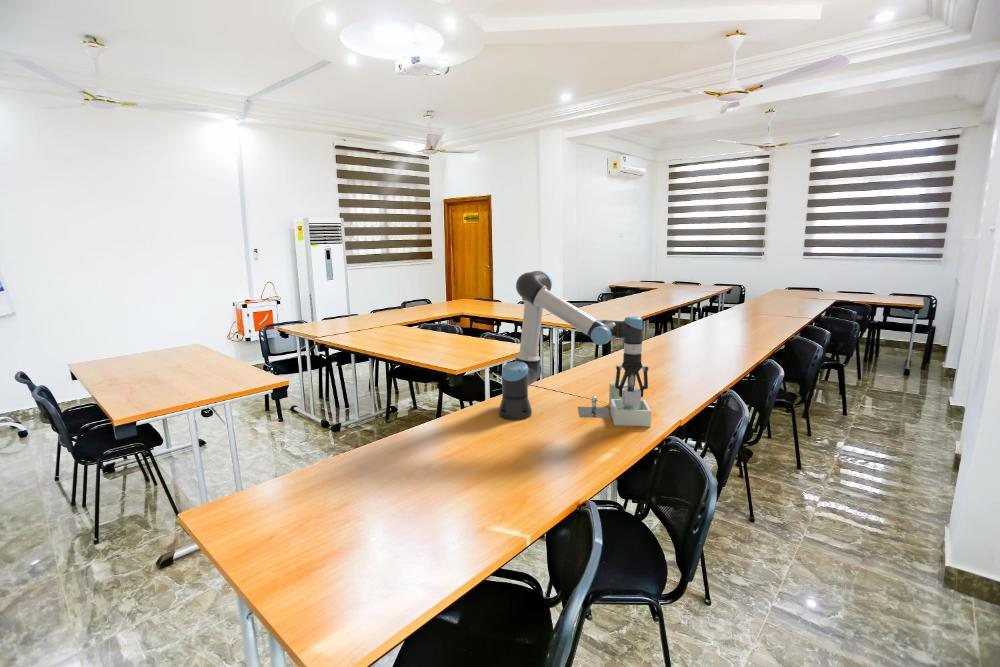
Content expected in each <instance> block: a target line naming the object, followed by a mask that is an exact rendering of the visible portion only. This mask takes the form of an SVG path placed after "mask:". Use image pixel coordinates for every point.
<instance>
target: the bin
mask: <svg viewBox="0 0 1000 667" xmlns="http://www.w3.org/2000/svg"><path fill="white" fill-rule="evenodd" d="M610 416H611V419H612V421H613V424H614V425H615V426H633V427H634V426H635V427H645V428H648V427H649V428H651V426H652V425H651V424H652V409H651V408H650V407H649V405H648V403H647V401H646V400H645V399H641V403H640V405H639V410H623V408H622V404H621V399H611V407H610Z"/></svg>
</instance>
